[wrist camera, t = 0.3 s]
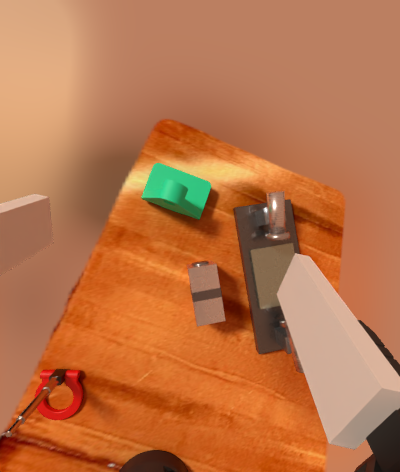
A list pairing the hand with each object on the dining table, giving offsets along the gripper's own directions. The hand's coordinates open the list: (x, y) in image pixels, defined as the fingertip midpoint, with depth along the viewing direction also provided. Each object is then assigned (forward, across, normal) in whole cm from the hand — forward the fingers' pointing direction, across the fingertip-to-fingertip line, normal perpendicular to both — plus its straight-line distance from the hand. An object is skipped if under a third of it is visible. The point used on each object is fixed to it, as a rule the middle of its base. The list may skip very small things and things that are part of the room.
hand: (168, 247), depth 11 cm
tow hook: (+13, +18, +43) cm, 49 cm away
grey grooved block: (+26, -4, +22) cm, 34 cm away
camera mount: (+34, +5, +6) cm, 35 cm away
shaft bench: (+29, -18, +18) cm, 39 cm away
